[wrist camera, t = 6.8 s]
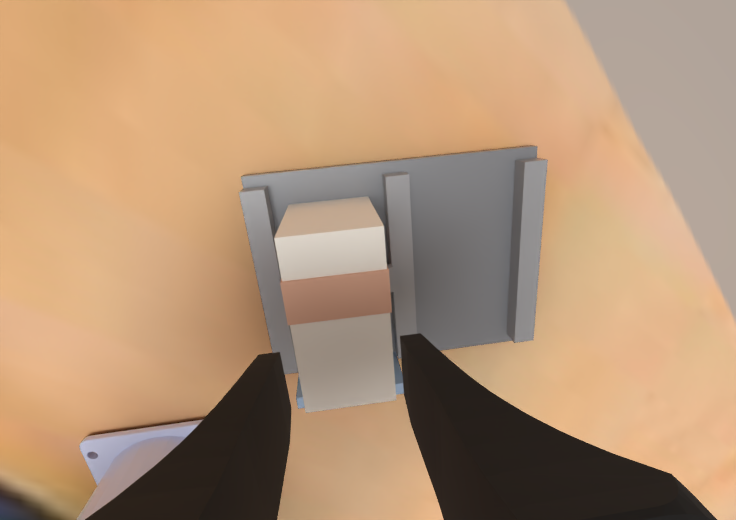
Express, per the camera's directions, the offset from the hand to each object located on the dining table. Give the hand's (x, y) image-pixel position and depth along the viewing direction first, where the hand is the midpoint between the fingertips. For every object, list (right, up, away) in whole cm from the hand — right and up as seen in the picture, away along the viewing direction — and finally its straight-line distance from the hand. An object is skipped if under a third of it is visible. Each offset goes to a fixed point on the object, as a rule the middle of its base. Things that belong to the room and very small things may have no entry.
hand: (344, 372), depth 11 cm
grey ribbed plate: (+2, +3, +8) cm, 8 cm away
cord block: (-1, +3, +7) cm, 7 cm away
